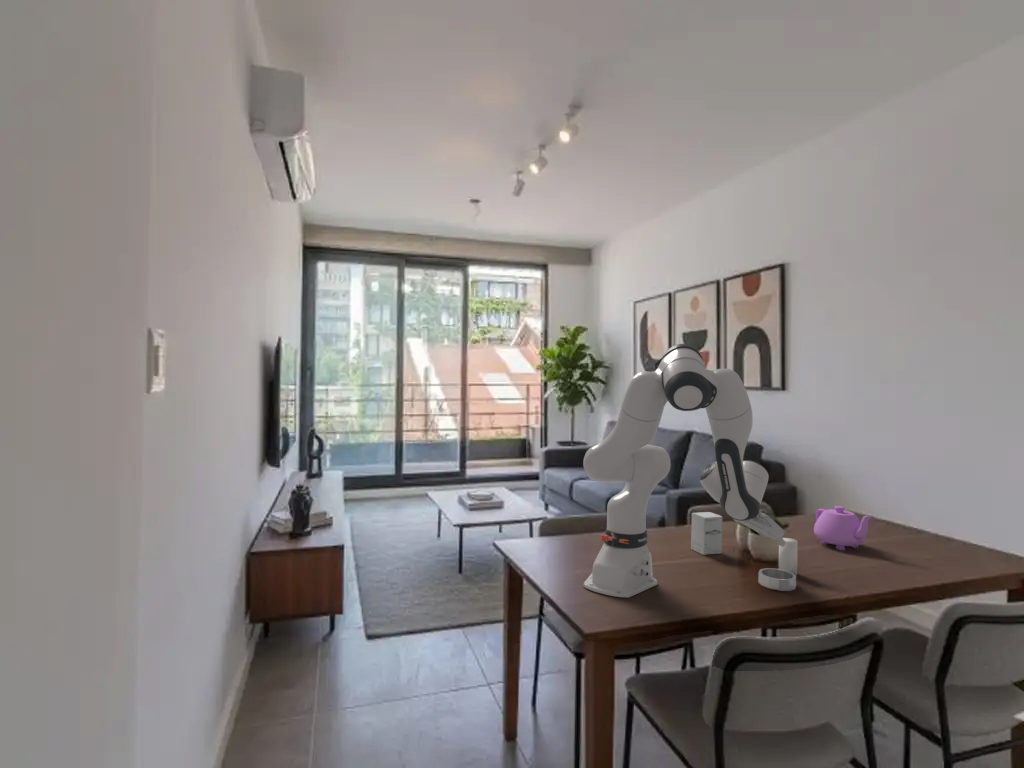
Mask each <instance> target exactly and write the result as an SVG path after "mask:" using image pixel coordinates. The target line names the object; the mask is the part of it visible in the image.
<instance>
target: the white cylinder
mask: <svg viewBox="0 0 1024 768" xmlns="http://www.w3.org/2000/svg"><path fill="white" fill-rule="evenodd" d="M782 538H783V540H784V541H785V542H786V544H785V545H784V546H783V547H782V546H780V545H778V569H781V570H786V571H788V572H791V573H793V574H794V575H795V576H796V577H797V576H798V550H799V549H798V540H797V539H794V538H790V537H789V538H788V537H782Z"/></svg>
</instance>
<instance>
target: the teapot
mask: <svg viewBox="0 0 1024 768" xmlns="http://www.w3.org/2000/svg"><path fill="white" fill-rule="evenodd" d="M845 509H846V508H845V507H844V506H840V505H836V506H834V509H831V508H830V509H826V508H819V509H816V511H815V519H816V521H815V523H814V524H813V527H814V528H813V532H814V535H815V536H816V537H817V538H818V539H819V540H820V542H819V544H820V545H823V546H826V545H827V544H828V545H829V544H831V545H835V546H836V547H835V548H837V549H836V550H838V549H840V550H839V551H845V550H846V547H850V546H851V547H850V548H852V547H855V548H854V549H857V548H856V547H859V546H860V545H862V544H863V542H864V541H865V540H866V536H867V535H868V532H869V528H868V527H869V526H868V524H869V520H870V519H871V518H872V517H873V515H864V516H862V519H861V521H860V519H859V517H858V516H857V515H856V513H854V512H852V511H848V510H845ZM844 549H845V550H844Z"/></svg>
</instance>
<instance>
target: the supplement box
mask: <svg viewBox="0 0 1024 768" xmlns="http://www.w3.org/2000/svg"><path fill="white" fill-rule="evenodd" d="M690 533H691V535H690V549H691V550H692V551H695V552H696V553H698V554H700V555H703V556H706V555H716V554H722V551H723V516H722V515H720V514H717V513H714V512H711V511H704V512H692V513H691V532H690Z"/></svg>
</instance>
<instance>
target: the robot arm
mask: <svg viewBox="0 0 1024 768" xmlns="http://www.w3.org/2000/svg"><path fill="white" fill-rule="evenodd" d="M667 402H668V403H669V404H670V405H671V406H672V408H674V409H675V410H678V411H681V412H692V411H697V410H700V409H705V411H706V414H707V415H706V416H707V419H708V422H709V426H710V431H711V435H712V441H713V446H714V453H715V460H716V461H712V462H711V463H710V462H709V464H708V465H706V466H705V468H704V469H703V470H702V472H701V474H700V476H699V482H700V485H701V486H702V487H703V489H704V490H705V492H707V493H708V494H709V495H710V497H711V498H712V499H713V500H714V501H715V502H717V503H719V505H720V507H721V509H722V511H723V512H724V513H725V514H726V515H727V516H728V517H729V518H730V519H733V520H734V521H735V523H740V524H742V525H743V526H745V527H747V528H750V529H752V530H753V531H755V532H757V533H758V534H759V536H760V537H762V538H766V537H767V538H769V539H771V540H773V541H775V543H777V545H778V546H779V545H780V546H782V547H783V546H784V545H785V544H786V542H785V541H784V540H783V538H784V535H785V531H784V529H783V528H782V527H781V526H780V525H779V524H778V523H777V522H776V521H775V520H773V519H772V518H771V517H770V516H769V515H767V514H766V513H764V512H761V511H760V509H761V505H762V501H763V498H764V496H765V492H766V488H767V486H768V482H769V478H770V475H769V472H768V470H767V469H766V468H765V467H764V466H763V465H762V464H760V463H759V462H757V461H754V460H749V459H748V460H747V459H746V460H744V456H745V451H746V447H747V444H748V440H749V438H750V435H751V433H752V432H751V431H752V429H753V419H754V418H753V408H752V404H751V400H750V398H749V394H748V392H747V389H746V387H745V385H744V383H743V380H742V379H741V377H740V375H739V374H738V373H737V372H736V371H734V369H730V368H723V367H722V368H717V369H713V370H710V369H708V368H707V369H706V365H705V363H704V360H703V356H702V355H701V353H700V352H699V351H698V350H697V348H695V347H694V346H692V345H690V344H688V343H679V344H675V345H673V346H671V347H669V348H668V349H667V350H666V351H665V353H664V354H663V355H662V357H661V358H659V359H658V360H657V361H656V362H655V364H654V371H640V372H637V373H635V374H634V375H633V377H632V378H631V379H630V382H629V384H628V386H627V389H626V391H625V393H624V397H623V399H622V403H621V406H620V410H619V414H618V418H617V421H616V423H615V426H614V427H613V429H612V430H611V431H610V432H609V434H607V436H606V437H605V438H604V439H603V440H601V441H600V442H599V443H597V444H596V445H595V444H594V445H593V446H591V447H590V448H588V449H587V450H586V452H585V453H584V454H585V455H584V457H583V462H582V464H583V465H582V466H583V470H584V473H585V474H586V476H587V477H588V478H589V480H591V481H595V482H599V483H600V482H601V483H605V484H614V483H617V484H618V483H619V484H620V483H625V485H624V487H623V488H622V490H621V491H620V492H618V493H617V494H614V495H613V496H612V497H611V498H610V499H609V501H608V503H607V504H606V505H607V507H606V508H607V509H606V510H607V511H606V528H605V532H604V533H602V534H601V535H600V541H601V542H603V544H602V547H601V548H600V550H599V552H598V554H597V556H596V557H595V560H594V562H593V565H592V572H591V573H590V575H589V576H588V577H587V579H586V580H585V581H584V582H583V587H584V588H585V589H587V590H589V591H592V592H594V593H599V594H602V595H607V596H610V597H616V598H631V597H633V596H636V595H637V594H640V593H642V592H644V591H646V590H649V589H650V588H652V587H654V586H657V585H658V580H657V579H656V578H655V577H653V560H652V559H653V556H652V553H651V552H650V550H649V549H648V546H647V544H648V530H647V529H646V523H647V522H646V521H647V519H646V518H647V509H648V502H649V500H650V497H651V495H652V493H653V492H654V489H655V488H656V487H657V485H658V484H659V483H660V482H661V481H663V480H664V479H665V478H666V477H667V476H668V474H669V472H670V470H671V458H670V454H669V453H668V452H667V450H666V449H665V447H662V446H658V445H653V444H650V443H651V442H653V440H655V437H656V436H657V433H658V429H659V426H660V424H661V419H662V416H663V413H664V408H665V406H666V404H667Z"/></svg>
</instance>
